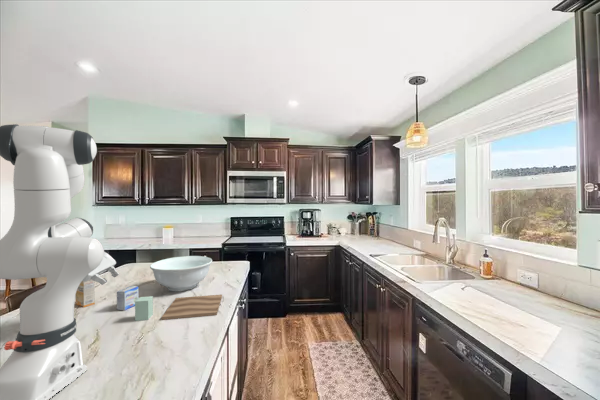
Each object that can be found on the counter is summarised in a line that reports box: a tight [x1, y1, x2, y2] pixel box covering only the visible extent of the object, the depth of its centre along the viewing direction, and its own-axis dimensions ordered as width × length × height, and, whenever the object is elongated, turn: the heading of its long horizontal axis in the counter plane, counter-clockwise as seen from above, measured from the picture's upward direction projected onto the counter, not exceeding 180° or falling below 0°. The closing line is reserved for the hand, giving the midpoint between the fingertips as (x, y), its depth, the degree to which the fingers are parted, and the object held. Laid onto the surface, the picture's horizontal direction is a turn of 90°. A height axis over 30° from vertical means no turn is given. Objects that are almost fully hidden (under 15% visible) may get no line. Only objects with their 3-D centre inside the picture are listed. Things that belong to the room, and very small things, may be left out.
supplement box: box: [75, 279, 96, 308], centre depth 125 cm, size 8×5×13 cm, turn 62°
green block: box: [134, 295, 154, 322], centre depth 110 cm, size 5×5×8 cm
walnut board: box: [161, 294, 223, 321], centre depth 121 cm, size 22×22×1 cm
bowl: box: [149, 255, 213, 292], centre depth 150 cm, size 32×32×15 cm
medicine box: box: [116, 285, 140, 311], centre depth 122 cm, size 8×4×9 cm, turn 168°
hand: (111, 279), depth 108 cm, fingers open, 8 cm apart
